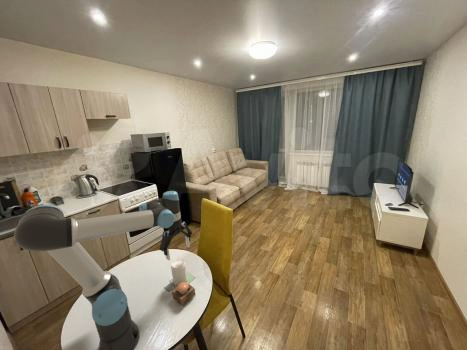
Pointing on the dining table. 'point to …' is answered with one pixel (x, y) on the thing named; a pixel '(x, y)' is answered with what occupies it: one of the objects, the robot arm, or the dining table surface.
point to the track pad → (169, 287)
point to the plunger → (182, 288)
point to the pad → (189, 278)
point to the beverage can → (179, 271)
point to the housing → (186, 297)
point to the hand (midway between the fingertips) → (178, 252)
